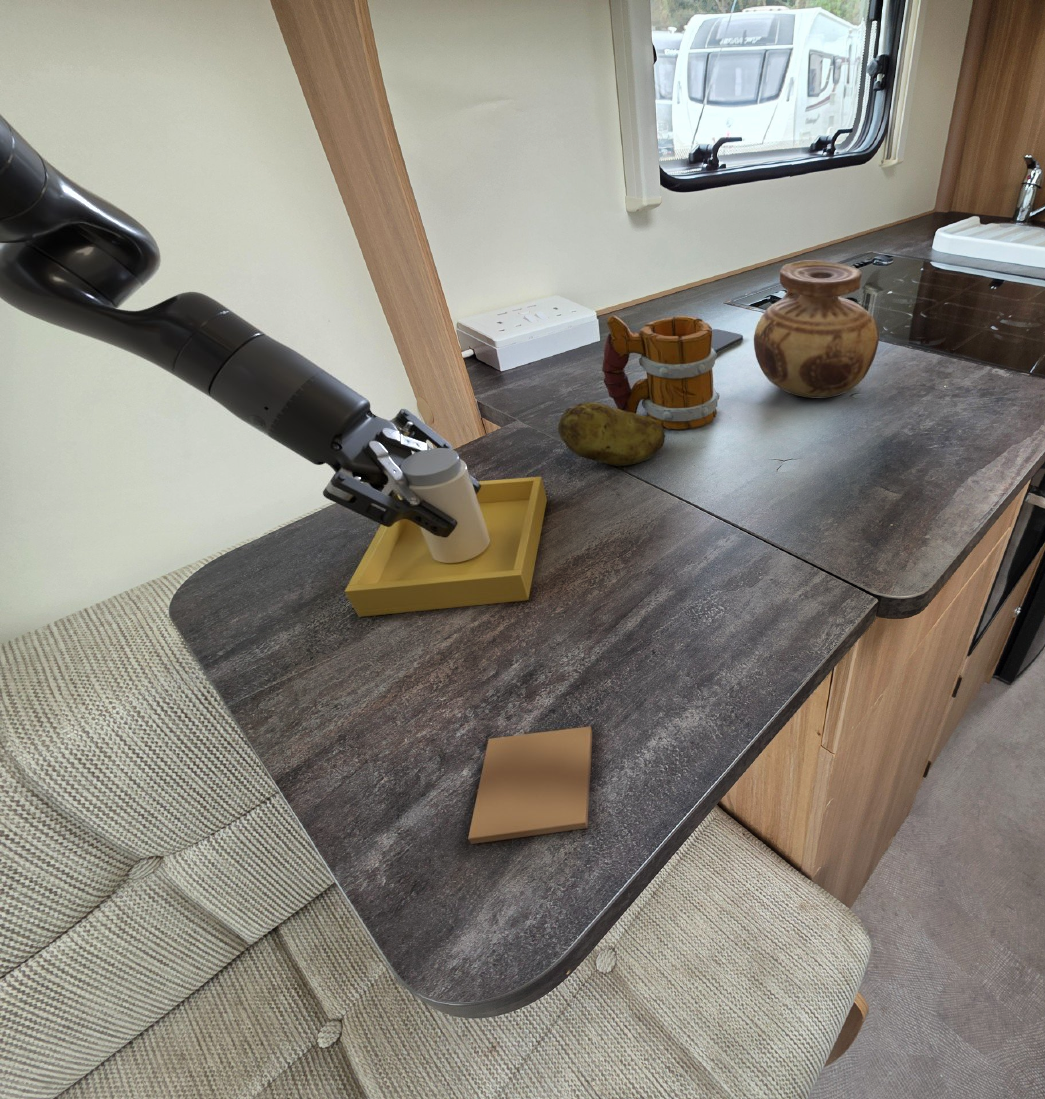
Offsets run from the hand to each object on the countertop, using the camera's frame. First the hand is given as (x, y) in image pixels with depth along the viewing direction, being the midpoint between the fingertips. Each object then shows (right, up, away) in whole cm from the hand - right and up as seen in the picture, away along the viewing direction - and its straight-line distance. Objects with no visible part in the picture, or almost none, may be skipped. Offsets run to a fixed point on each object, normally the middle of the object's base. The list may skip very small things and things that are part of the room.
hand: (464, 510), depth 60 cm
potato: (+12, +8, +18) cm, 23 cm away
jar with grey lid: (-2, -3, +3) cm, 5 cm away
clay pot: (+40, +22, +36) cm, 58 cm away
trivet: (+13, -21, -17) cm, 30 cm away
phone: (+22, +33, +50) cm, 64 cm away
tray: (-2, -4, +3) cm, 6 cm away
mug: (+17, +16, +28) cm, 37 cm away
